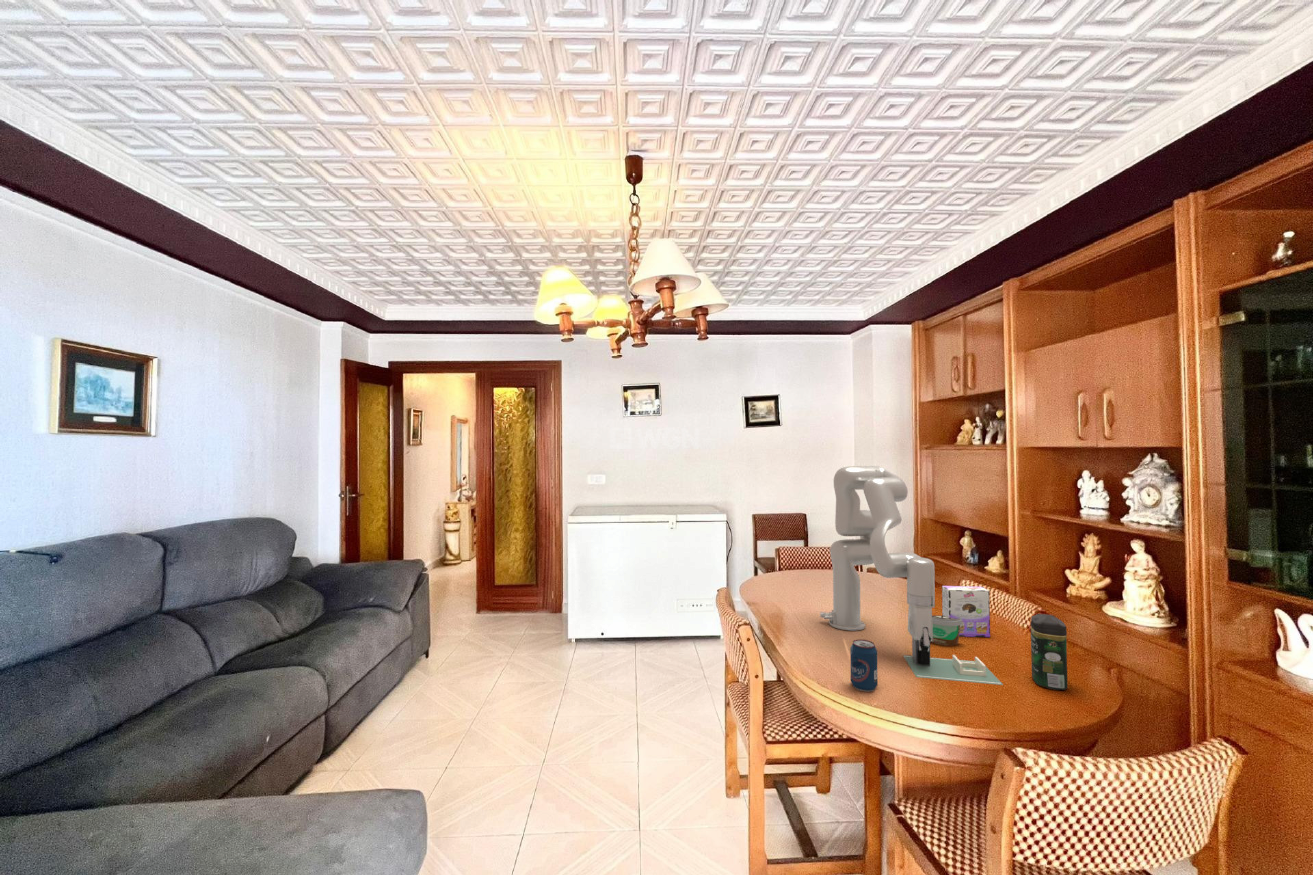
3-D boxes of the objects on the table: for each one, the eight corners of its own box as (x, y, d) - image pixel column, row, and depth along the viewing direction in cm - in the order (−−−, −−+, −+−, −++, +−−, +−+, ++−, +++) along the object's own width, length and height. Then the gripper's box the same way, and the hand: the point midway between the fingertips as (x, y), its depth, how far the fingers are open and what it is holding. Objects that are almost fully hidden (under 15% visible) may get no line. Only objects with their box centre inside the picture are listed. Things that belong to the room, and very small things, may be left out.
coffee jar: (1028, 673, 154) (1028, 610, 154) (1062, 679, 150) (1061, 613, 151) (1034, 687, 145) (1034, 619, 146) (1070, 693, 142) (1069, 624, 142)
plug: (915, 664, 157) (915, 639, 157) (912, 659, 161) (912, 635, 161) (930, 666, 156) (930, 640, 157) (926, 660, 160) (926, 636, 160)
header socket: (960, 674, 151) (960, 663, 151) (952, 665, 157) (952, 654, 157) (985, 676, 149) (985, 665, 149) (977, 667, 156) (977, 656, 156)
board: (916, 681, 149) (916, 676, 149) (902, 659, 165) (902, 654, 165) (1003, 689, 144) (1003, 684, 144) (981, 665, 160) (981, 661, 160)
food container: (920, 646, 175) (920, 616, 175) (921, 640, 180) (920, 611, 181) (963, 653, 169) (963, 622, 170) (962, 646, 175) (962, 616, 175)
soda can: (846, 686, 145) (845, 642, 146) (857, 679, 150) (857, 636, 151) (871, 695, 141) (870, 649, 141) (881, 686, 145) (881, 643, 146)
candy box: (982, 631, 189) (981, 585, 189) (990, 637, 183) (990, 590, 184) (941, 630, 190) (941, 584, 191) (949, 636, 185) (948, 589, 185)
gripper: (900, 591, 168) (901, 649, 168) (914, 606, 152) (914, 670, 151) (926, 592, 166) (926, 651, 166) (942, 608, 150) (943, 673, 150)
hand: (921, 660), depth 159 cm, fingers closed on plug, 4 cm apart
